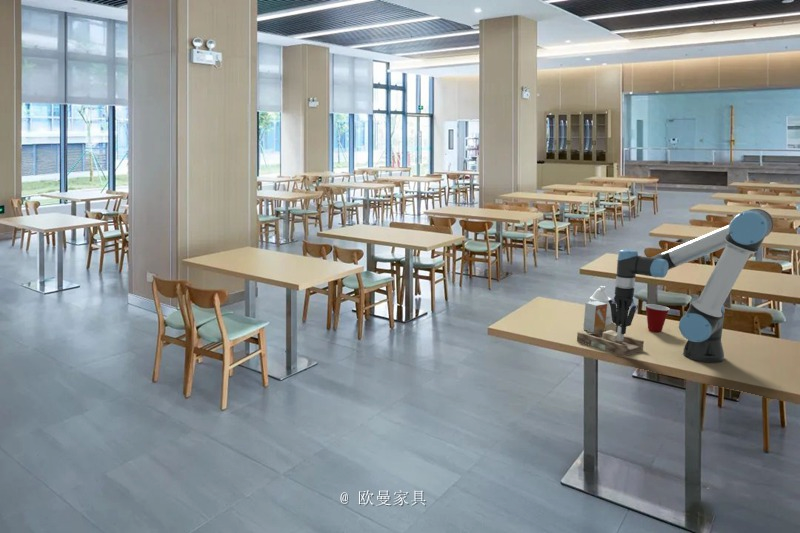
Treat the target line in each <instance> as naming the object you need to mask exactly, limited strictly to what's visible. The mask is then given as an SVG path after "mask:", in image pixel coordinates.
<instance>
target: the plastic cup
mask: <svg viewBox="0 0 800 533" xmlns="http://www.w3.org/2000/svg"><path fill="white" fill-rule="evenodd" d="M644 306H645V311H646V322H647V330H648V332H651V333H654V334H656V333H660V334H661V333H662V331H663V328H664V326H665V321H666V319H667V316H668V313H669V311H670V310H671V308H669V307H667V306H665V305H660V304H653V303H646V304H645V305H644Z"/></svg>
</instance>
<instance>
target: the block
mask: <svg viewBox="0 0 800 533" xmlns="http://www.w3.org/2000/svg"><path fill="white" fill-rule="evenodd" d="M602 339H605V340H608V341H612V342H615V343H618V344H619V343H622V341H620V342H619V341H617V332H616V330H612V329H609V330H606V332H603V334H602Z"/></svg>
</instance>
